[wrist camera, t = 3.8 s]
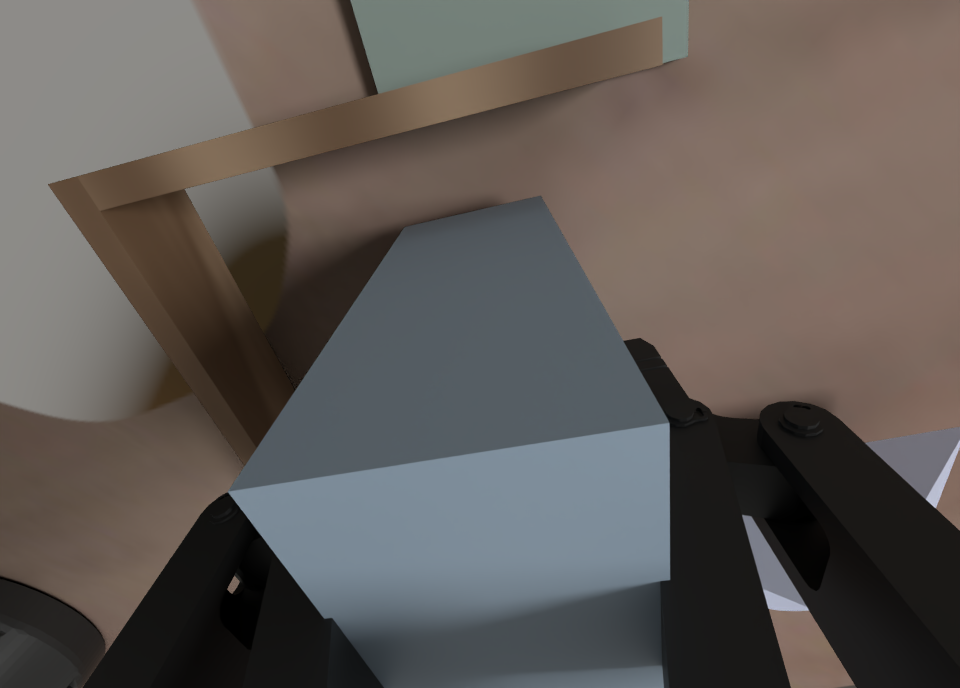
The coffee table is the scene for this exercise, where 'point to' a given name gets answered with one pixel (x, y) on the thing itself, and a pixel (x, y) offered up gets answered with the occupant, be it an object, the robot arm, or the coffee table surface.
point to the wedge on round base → (909, 456)
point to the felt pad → (494, 31)
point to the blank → (476, 469)
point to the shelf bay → (163, 177)
